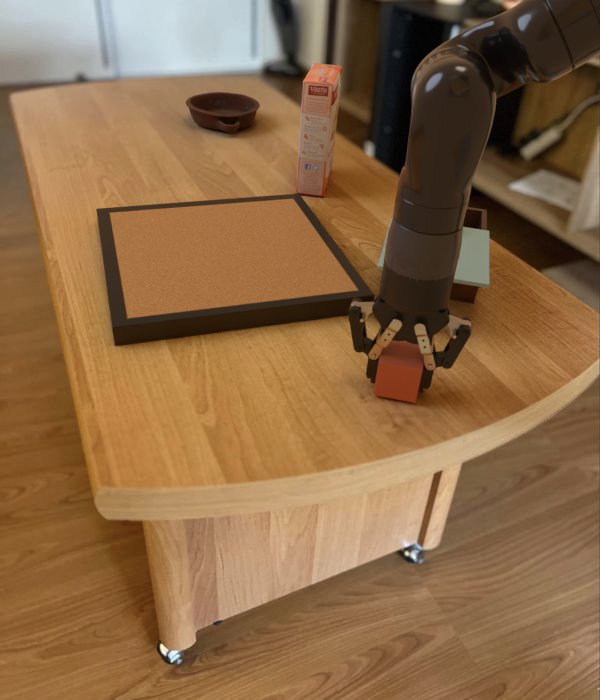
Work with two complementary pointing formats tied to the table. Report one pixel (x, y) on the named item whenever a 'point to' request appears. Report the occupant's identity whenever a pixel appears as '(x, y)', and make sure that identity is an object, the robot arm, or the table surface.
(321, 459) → the table surface
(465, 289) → the case
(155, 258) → the cork board
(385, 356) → the block
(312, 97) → the cracker box
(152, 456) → the table surface
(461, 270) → the glass top
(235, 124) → the dish
